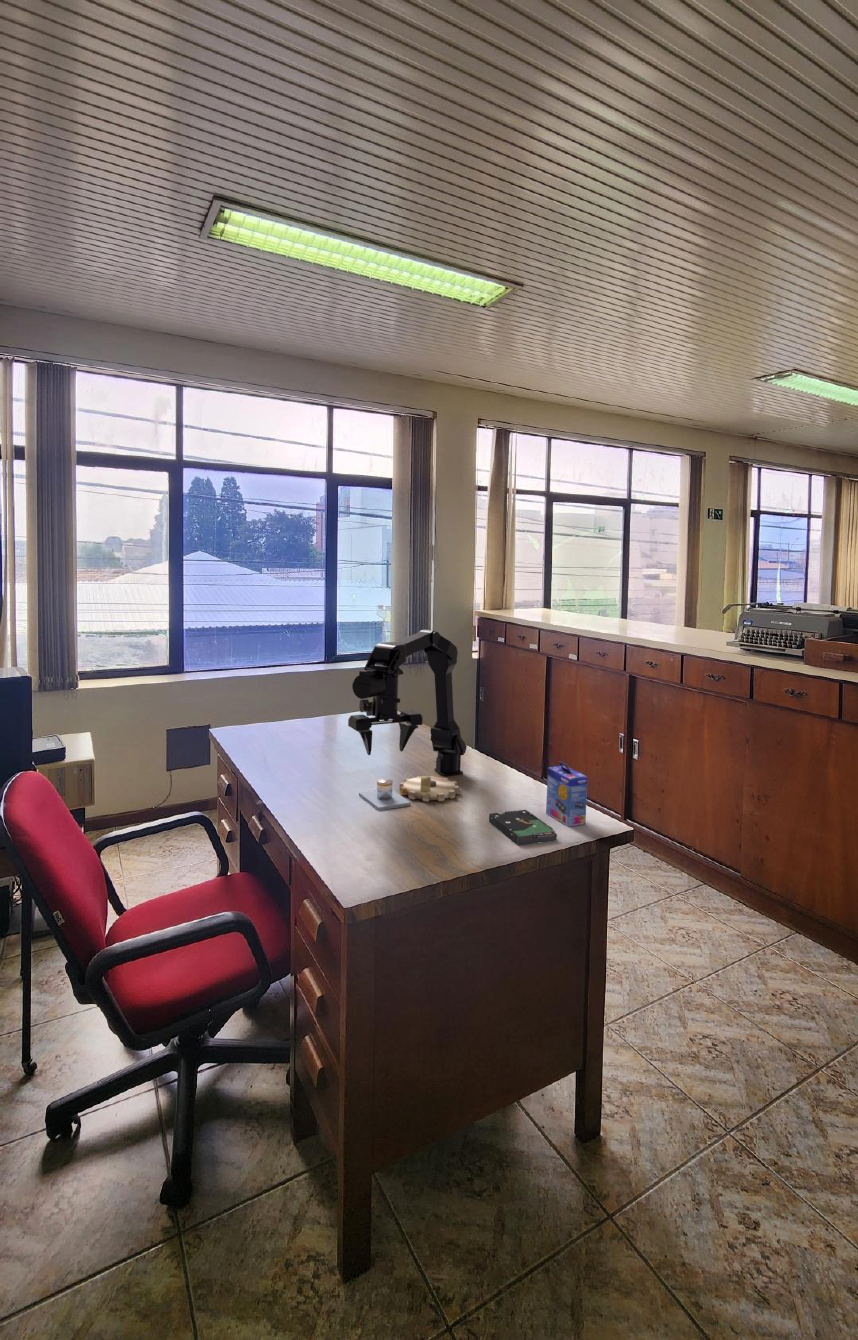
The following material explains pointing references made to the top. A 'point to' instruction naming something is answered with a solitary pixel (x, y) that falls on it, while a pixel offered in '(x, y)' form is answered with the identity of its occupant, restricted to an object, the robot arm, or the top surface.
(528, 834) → the disk drive
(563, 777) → the ink cartridge box
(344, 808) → the top surface
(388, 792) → the small glass jar
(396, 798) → the slate pad
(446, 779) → the sprocket wheel
